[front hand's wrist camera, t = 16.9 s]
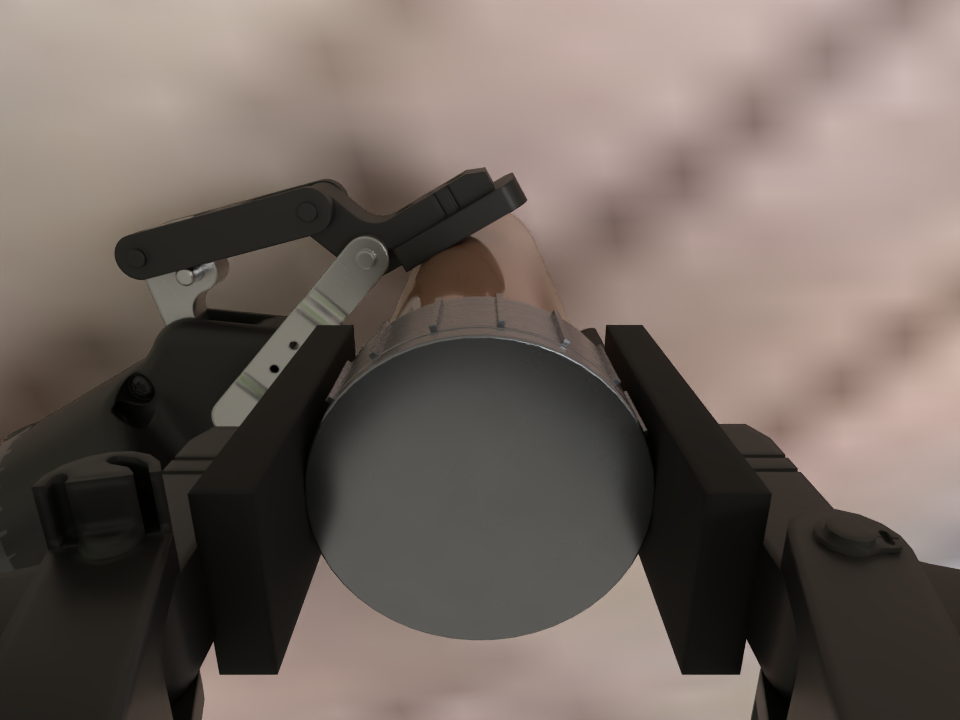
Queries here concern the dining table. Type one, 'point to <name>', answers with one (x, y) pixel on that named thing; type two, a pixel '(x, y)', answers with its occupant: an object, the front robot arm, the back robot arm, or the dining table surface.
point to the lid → (479, 471)
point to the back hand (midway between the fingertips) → (560, 269)
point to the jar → (484, 271)
